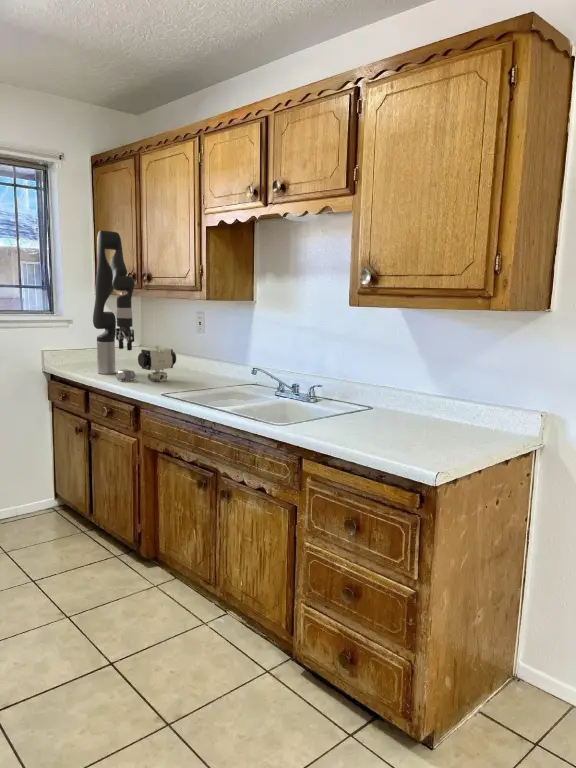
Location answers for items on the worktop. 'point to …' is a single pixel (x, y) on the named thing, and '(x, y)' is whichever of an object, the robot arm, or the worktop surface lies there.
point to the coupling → (125, 375)
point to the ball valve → (157, 362)
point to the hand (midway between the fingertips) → (125, 349)
